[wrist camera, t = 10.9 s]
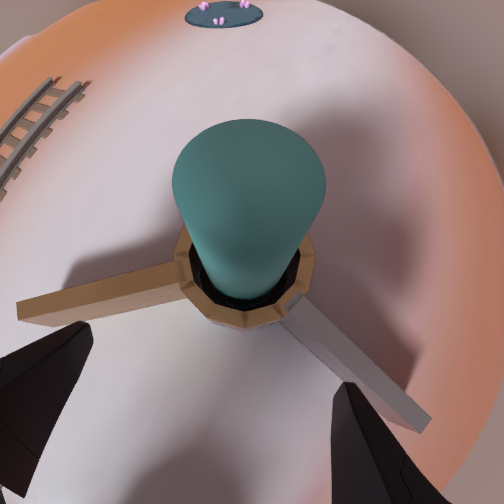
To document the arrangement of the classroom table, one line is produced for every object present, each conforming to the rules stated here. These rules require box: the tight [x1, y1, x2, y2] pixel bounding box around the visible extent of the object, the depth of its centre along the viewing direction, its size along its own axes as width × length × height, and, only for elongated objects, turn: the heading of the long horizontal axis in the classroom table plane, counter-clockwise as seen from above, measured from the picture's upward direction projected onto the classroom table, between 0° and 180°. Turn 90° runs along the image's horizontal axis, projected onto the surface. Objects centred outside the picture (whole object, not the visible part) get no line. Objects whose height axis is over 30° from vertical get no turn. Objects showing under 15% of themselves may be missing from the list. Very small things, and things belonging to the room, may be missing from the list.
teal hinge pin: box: [172, 119, 326, 308], centre depth 14 cm, size 4×4×12 cm
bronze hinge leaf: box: [16, 223, 316, 330], centre depth 16 cm, size 17×12×4 cm
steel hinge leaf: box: [194, 255, 432, 434], centre depth 16 cm, size 7×19×4 cm, turn 45°
